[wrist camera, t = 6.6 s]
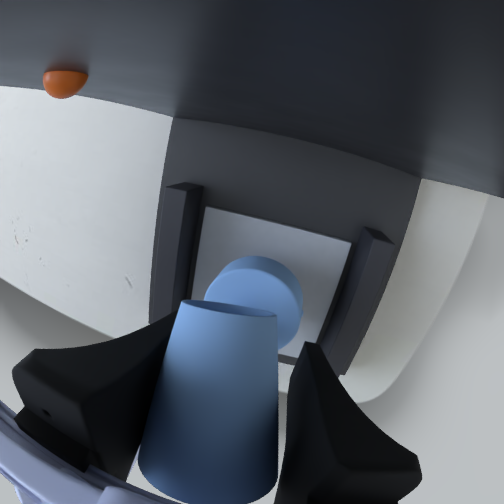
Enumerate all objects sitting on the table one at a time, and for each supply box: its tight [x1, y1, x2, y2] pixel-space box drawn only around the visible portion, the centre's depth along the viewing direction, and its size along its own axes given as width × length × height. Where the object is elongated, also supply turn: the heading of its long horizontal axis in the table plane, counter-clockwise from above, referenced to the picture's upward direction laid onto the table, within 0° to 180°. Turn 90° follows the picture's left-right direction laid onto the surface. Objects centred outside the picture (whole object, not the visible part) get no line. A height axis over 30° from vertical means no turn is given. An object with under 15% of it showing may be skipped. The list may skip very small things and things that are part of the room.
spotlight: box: [138, 256, 304, 504], centre depth 10 cm, size 5×10×7 cm
